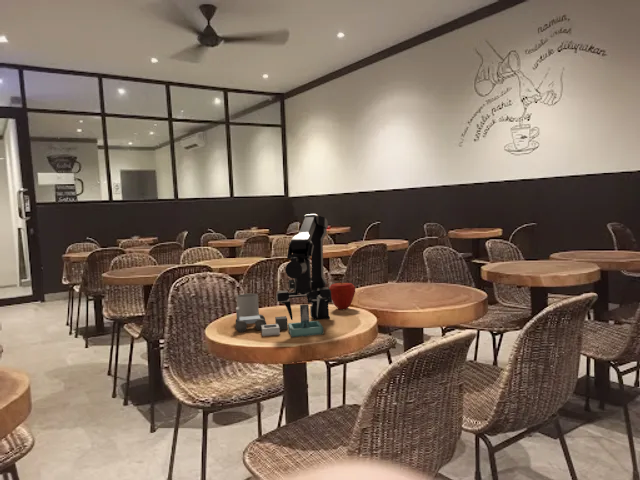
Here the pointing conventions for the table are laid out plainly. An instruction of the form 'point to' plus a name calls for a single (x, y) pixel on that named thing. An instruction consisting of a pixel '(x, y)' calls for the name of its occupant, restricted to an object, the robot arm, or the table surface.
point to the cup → (248, 305)
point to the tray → (305, 329)
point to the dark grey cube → (282, 322)
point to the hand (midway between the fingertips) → (304, 318)
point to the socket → (270, 329)
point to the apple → (342, 294)
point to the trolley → (248, 321)
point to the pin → (304, 316)
